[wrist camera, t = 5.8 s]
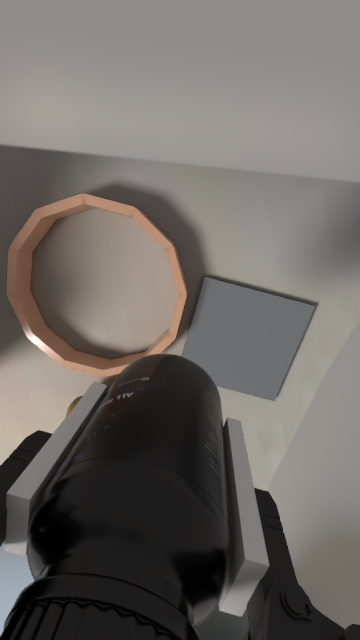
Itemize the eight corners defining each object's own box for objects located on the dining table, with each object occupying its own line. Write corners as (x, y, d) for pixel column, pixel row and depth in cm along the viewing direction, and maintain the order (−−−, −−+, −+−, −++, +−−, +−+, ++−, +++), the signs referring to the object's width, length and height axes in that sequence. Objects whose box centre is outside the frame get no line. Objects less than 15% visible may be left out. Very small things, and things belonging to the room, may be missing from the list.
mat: (176, 373, 36) (176, 375, 35) (204, 276, 31) (204, 276, 31) (273, 398, 36) (274, 400, 35) (313, 305, 32) (315, 306, 31)
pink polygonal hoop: (19, 342, 36) (4, 351, 33) (29, 180, 29) (10, 173, 27) (164, 379, 36) (161, 391, 33) (204, 227, 30) (205, 225, 27)
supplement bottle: (126, 335, 15) (-113, 622, 4) (236, 369, 15) (332, 759, 4) (104, 425, 17) (-91, 785, 6) (201, 455, 17) (193, 873, 6)
